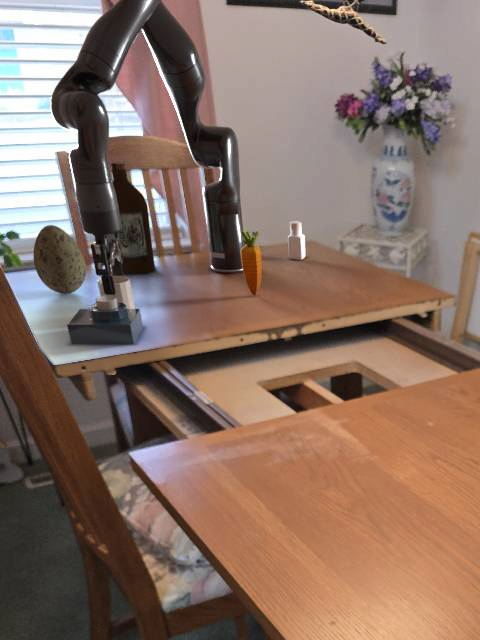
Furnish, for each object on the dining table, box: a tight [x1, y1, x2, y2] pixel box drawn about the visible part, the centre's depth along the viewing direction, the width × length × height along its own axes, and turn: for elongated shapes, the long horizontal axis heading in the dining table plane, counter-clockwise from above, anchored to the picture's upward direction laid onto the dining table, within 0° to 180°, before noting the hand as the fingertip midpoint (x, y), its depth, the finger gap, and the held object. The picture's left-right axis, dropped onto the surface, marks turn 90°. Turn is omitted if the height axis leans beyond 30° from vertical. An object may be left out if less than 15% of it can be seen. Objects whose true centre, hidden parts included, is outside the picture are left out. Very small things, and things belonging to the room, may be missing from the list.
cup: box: [97, 276, 136, 309], centre depth 152 cm, size 6×6×8 cm
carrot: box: [240, 229, 263, 297], centre depth 166 cm, size 5×5×15 cm
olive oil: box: [110, 161, 156, 275], centre depth 179 cm, size 11×11×25 cm
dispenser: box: [66, 302, 144, 345], centre depth 143 cm, size 12×10×6 cm
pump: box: [94, 296, 118, 310], centre depth 141 cm, size 4×4×2 cm
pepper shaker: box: [287, 220, 306, 261], centre depth 198 cm, size 4×4×10 cm
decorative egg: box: [33, 224, 87, 295], centre depth 163 cm, size 11×11×15 cm
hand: (115, 288), depth 151 cm, fingers open, 8 cm apart
